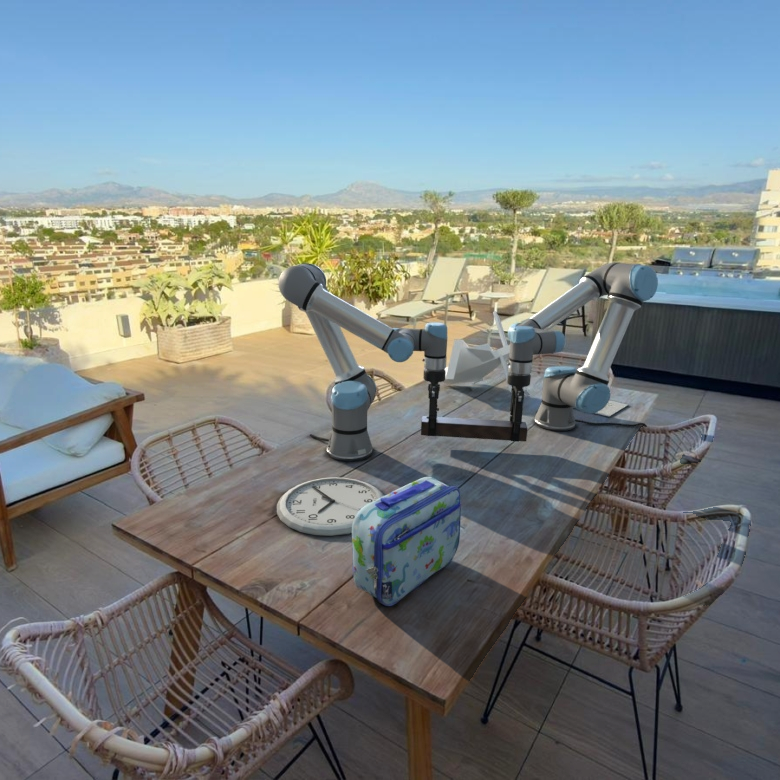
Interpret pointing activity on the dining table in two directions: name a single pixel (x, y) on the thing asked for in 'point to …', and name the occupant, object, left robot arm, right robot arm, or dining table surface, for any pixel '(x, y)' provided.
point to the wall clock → (325, 505)
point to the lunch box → (405, 538)
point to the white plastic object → (477, 360)
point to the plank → (473, 428)
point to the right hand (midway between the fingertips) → (513, 437)
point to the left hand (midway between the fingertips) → (432, 431)
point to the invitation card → (611, 408)
